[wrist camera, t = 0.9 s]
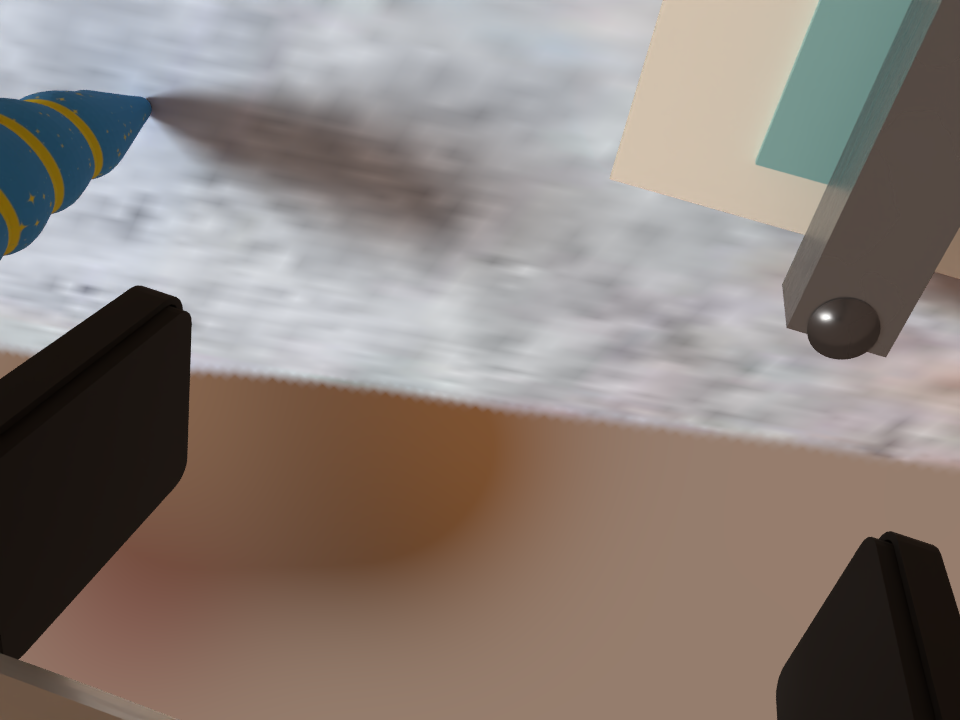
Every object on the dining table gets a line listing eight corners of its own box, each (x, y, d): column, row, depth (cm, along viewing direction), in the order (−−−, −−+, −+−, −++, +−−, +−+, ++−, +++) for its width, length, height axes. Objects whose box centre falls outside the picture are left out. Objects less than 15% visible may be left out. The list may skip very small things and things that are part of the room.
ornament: (224, 116, 34) (-67, 278, 22) (160, 194, 37) (-133, 376, 24) (125, 13, 33) (-244, 122, 20) (65, 101, 36) (-293, 243, 23)
